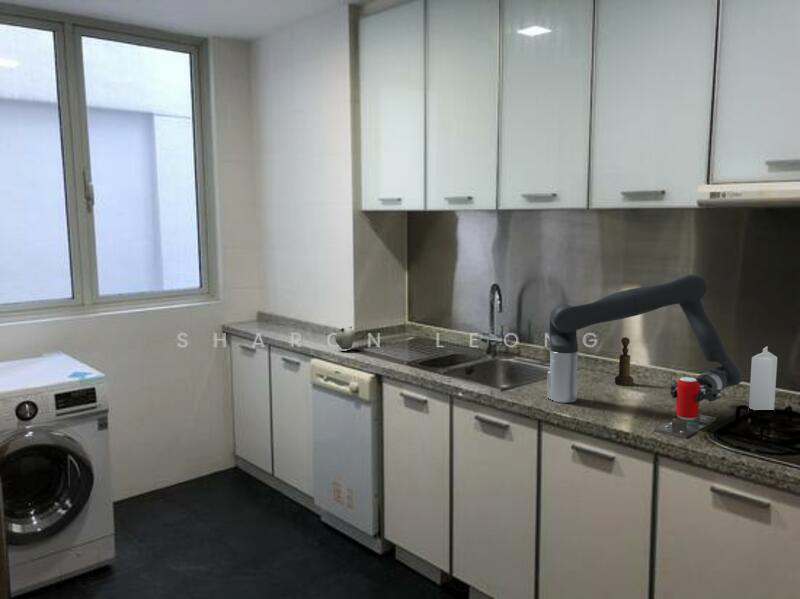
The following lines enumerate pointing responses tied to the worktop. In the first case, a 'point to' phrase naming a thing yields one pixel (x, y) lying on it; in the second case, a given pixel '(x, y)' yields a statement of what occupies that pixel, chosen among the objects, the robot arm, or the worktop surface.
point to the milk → (763, 381)
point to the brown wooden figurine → (624, 366)
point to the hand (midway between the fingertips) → (684, 396)
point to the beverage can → (687, 398)
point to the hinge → (685, 426)
